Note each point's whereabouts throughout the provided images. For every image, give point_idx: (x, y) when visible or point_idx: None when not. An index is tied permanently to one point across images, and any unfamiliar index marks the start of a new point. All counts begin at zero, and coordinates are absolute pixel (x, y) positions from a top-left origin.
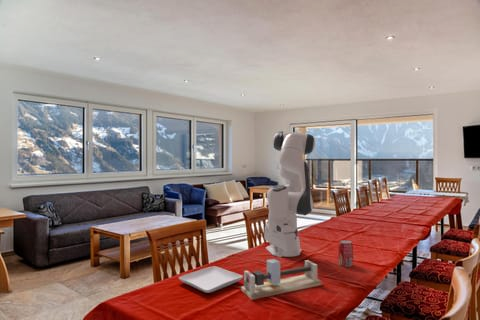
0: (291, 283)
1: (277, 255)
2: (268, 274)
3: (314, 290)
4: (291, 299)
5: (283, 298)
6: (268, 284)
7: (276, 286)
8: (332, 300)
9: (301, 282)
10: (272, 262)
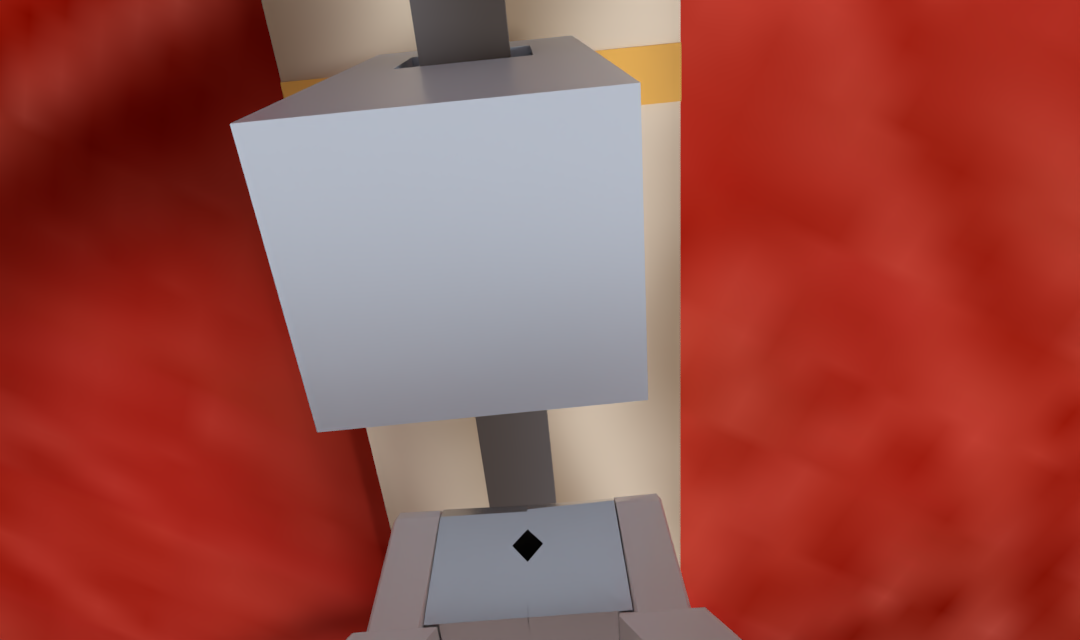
0: None
1: (460, 528)
2: (435, 24)
3: (314, 540)
4: (103, 206)
5: (148, 115)
6: None
7: None
8: (40, 579)
9: (468, 507)
10: (303, 183)
